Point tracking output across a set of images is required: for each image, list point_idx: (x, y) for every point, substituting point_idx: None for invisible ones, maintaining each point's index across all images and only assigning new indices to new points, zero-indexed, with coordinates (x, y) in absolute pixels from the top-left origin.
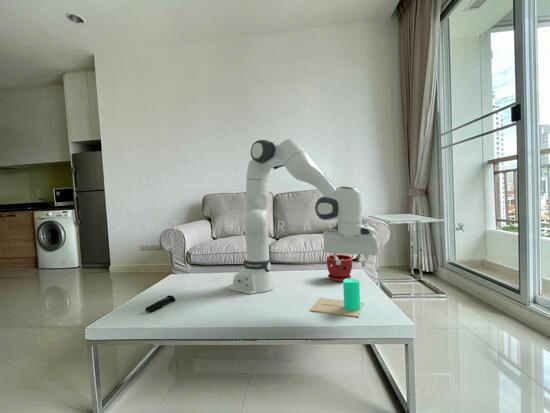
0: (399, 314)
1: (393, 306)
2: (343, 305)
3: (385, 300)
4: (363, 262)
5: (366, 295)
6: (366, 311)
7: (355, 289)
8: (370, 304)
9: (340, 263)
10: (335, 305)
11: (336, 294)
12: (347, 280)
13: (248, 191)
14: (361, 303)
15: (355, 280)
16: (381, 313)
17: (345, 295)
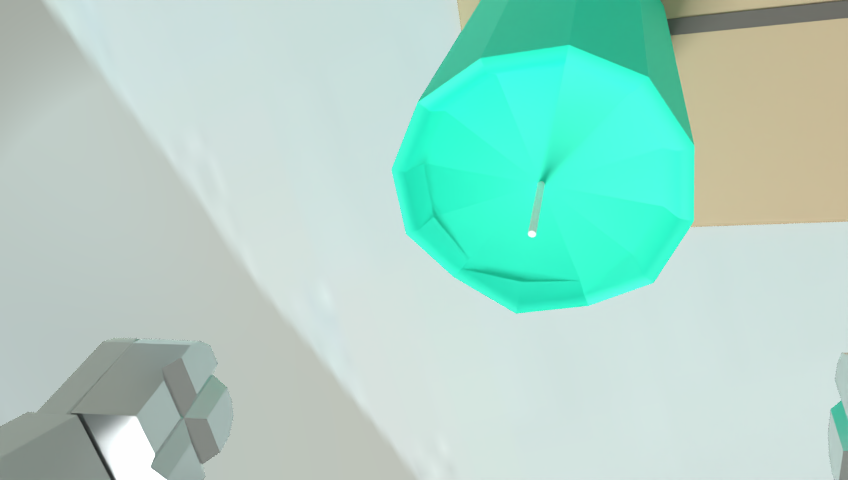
0: (128, 89)
1: (236, 250)
2: (688, 72)
3: (338, 358)
4: (87, 409)
5: (523, 427)
6: (407, 33)
7: (454, 50)
8: None
9: (836, 449)
10: (794, 32)
11: None
12: (629, 236)
13: None
14: None
15: (493, 272)
16: (263, 45)
17: (632, 2)
